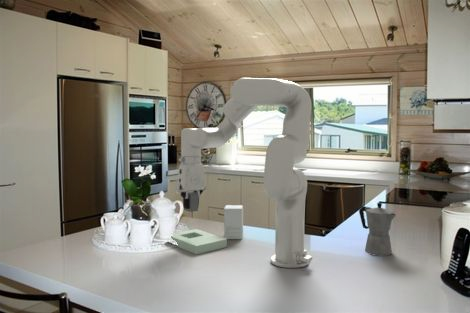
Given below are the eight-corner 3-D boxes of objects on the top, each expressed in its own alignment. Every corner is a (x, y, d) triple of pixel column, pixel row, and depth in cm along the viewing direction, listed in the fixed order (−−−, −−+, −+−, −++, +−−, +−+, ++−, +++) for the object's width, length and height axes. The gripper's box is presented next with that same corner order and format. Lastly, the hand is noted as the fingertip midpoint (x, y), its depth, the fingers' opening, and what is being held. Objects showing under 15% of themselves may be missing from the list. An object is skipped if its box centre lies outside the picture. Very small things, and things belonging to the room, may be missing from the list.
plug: (198, 210, 159) (198, 192, 159) (190, 211, 157) (190, 193, 156) (191, 208, 163) (191, 191, 162) (183, 209, 160) (184, 192, 160)
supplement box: (243, 234, 172) (243, 205, 172) (242, 239, 165) (242, 208, 164) (226, 234, 173) (225, 204, 172) (223, 239, 166) (223, 208, 165)
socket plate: (226, 246, 155) (226, 239, 155) (196, 254, 146) (196, 246, 146) (196, 236, 170) (196, 228, 170) (166, 242, 161) (166, 234, 161)
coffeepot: (402, 254, 146) (404, 204, 145) (385, 259, 141) (387, 207, 140) (366, 244, 159) (368, 197, 158) (350, 248, 154) (351, 200, 152)
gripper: (177, 162, 150) (178, 212, 152) (214, 160, 161) (214, 206, 162) (167, 160, 156) (167, 208, 157) (202, 158, 166) (202, 203, 168)
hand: (191, 207), depth 160 cm, fingers closed on plug, 3 cm apart
